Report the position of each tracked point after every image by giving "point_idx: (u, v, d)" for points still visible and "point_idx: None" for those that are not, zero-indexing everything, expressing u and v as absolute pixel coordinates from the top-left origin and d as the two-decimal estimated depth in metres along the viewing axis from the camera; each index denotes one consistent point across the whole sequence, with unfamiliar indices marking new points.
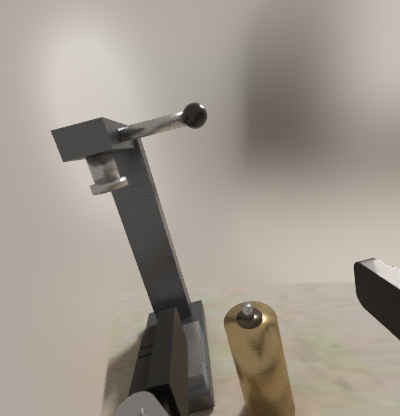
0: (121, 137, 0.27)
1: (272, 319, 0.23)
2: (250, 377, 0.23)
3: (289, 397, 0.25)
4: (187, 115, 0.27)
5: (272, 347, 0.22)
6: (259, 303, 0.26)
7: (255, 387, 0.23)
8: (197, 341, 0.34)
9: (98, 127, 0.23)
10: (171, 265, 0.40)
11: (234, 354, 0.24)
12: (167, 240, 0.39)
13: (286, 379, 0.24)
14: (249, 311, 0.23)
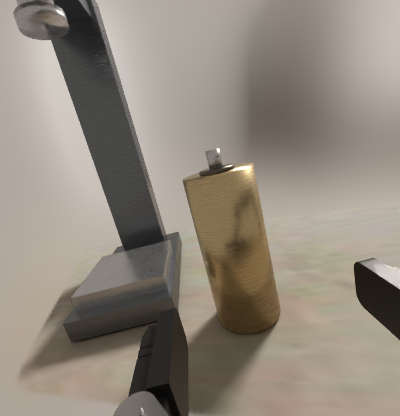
0: None
1: (247, 165, 0.17)
2: (215, 245, 0.17)
3: (271, 284, 0.18)
4: None
5: (244, 194, 0.16)
6: (233, 164, 0.19)
7: (223, 259, 0.17)
8: (164, 253, 0.28)
9: None
10: (139, 178, 0.33)
11: (195, 216, 0.17)
12: (134, 145, 0.32)
13: (267, 256, 0.18)
14: (215, 154, 0.17)
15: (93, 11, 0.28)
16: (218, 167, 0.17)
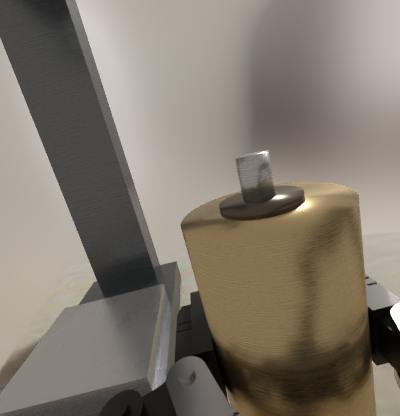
0: None
1: (339, 193, 0.07)
2: (263, 392, 0.07)
3: None
4: None
5: (350, 277, 0.06)
6: (285, 184, 0.09)
7: None
8: (152, 315, 0.18)
9: None
10: (119, 192, 0.23)
11: (211, 314, 0.07)
12: (111, 144, 0.22)
13: (374, 398, 0.08)
14: (261, 166, 0.07)
15: None
16: (267, 197, 0.07)
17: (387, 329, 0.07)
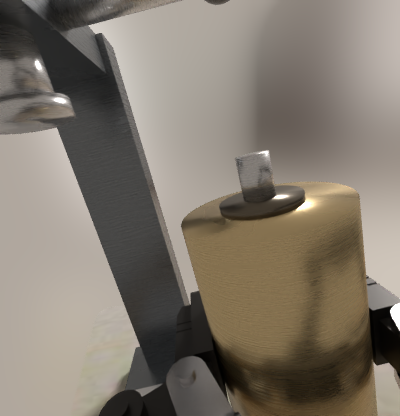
0: (58, 11, 0.13)
1: (340, 193, 0.07)
2: (264, 393, 0.07)
3: None
4: None
5: (350, 277, 0.06)
6: (286, 184, 0.09)
7: None
8: None
9: None
10: (168, 278, 0.25)
11: (211, 314, 0.07)
12: (162, 238, 0.24)
13: (375, 398, 0.08)
14: (262, 166, 0.07)
15: (108, 63, 0.20)
16: (267, 197, 0.07)
17: (387, 329, 0.07)
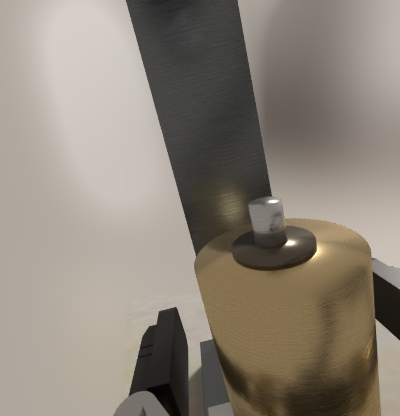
0: None
1: (351, 243, 0.07)
2: None
3: None
4: None
5: (362, 333, 0.06)
6: (295, 220, 0.10)
7: None
8: None
9: None
10: None
11: (224, 358, 0.07)
12: (265, 176, 0.16)
13: None
14: (275, 216, 0.07)
15: None
16: (280, 244, 0.07)
17: None
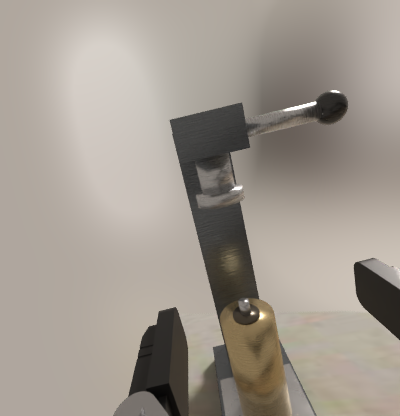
0: None
1: (269, 315, 0.23)
2: (245, 376, 0.22)
3: (286, 399, 0.24)
4: (326, 106, 0.20)
5: (269, 344, 0.22)
6: (256, 300, 0.25)
7: (251, 386, 0.22)
8: (301, 395, 0.27)
9: (234, 116, 0.16)
10: (251, 292, 0.33)
11: (230, 351, 0.23)
12: (250, 262, 0.32)
13: (283, 379, 0.23)
14: (246, 307, 0.23)
15: None
16: (248, 315, 0.23)
17: None
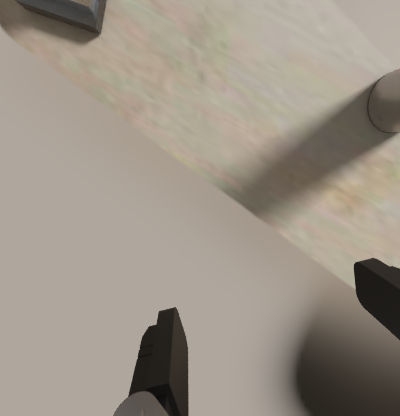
0: None
1: None
2: None
3: None
4: None
5: None
6: None
7: None
8: None
9: None
10: None
11: None
12: None
13: None
14: None
15: None
16: None
17: None
